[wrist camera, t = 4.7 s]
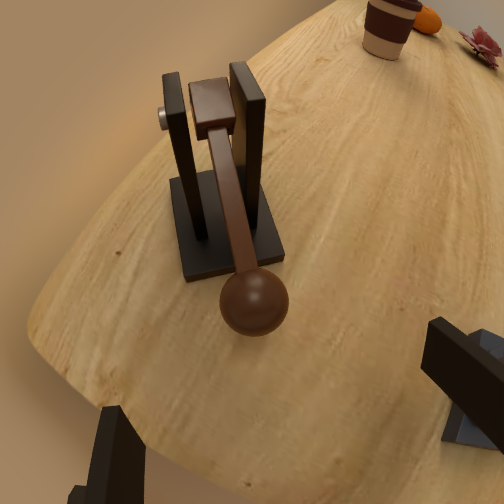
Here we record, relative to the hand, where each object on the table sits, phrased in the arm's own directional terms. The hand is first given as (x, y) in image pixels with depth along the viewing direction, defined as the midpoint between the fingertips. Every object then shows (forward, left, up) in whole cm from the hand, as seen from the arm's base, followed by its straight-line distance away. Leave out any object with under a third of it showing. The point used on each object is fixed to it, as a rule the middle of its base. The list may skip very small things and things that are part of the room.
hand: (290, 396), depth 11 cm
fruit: (+7, +91, -11) cm, 92 cm away
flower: (+26, +94, -11) cm, 98 cm away
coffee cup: (-2, +59, -11) cm, 60 cm away
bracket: (-10, +12, -11) cm, 18 cm away
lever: (-7, +8, -3) cm, 11 cm away
